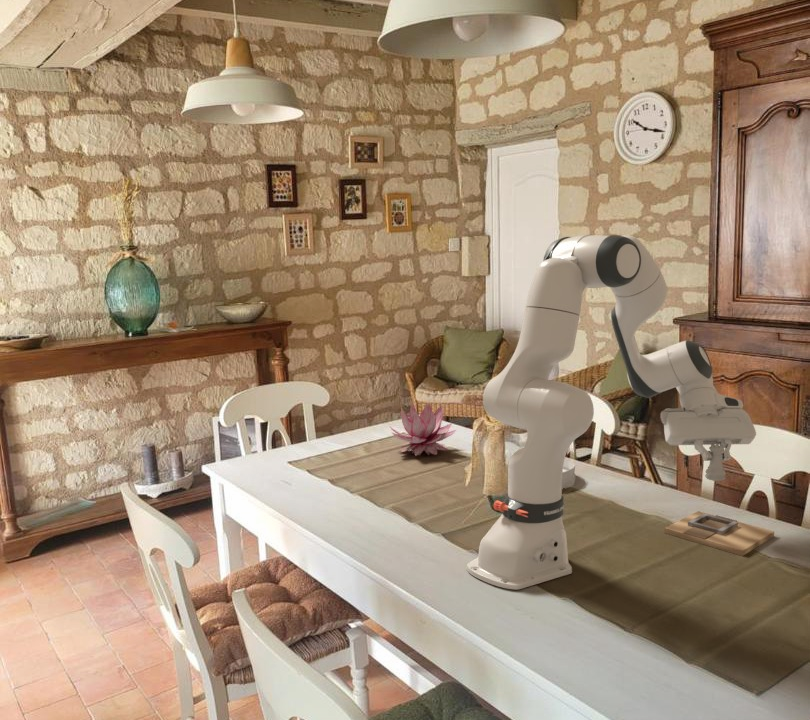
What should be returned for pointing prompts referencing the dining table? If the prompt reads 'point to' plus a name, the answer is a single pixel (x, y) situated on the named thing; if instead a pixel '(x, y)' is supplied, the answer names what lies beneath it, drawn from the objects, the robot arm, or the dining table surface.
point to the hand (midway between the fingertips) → (717, 459)
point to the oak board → (720, 533)
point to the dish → (568, 473)
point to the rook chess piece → (716, 464)
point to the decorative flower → (424, 430)
